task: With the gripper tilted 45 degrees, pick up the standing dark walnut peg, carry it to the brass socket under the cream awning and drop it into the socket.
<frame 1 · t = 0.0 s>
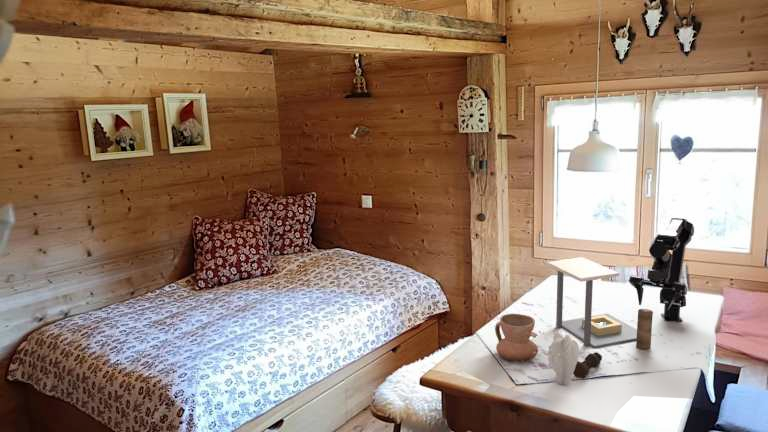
hand: (653, 307, 208), 15 cm above the table, tool tilted 35°, fingers open, 9 cm apart
walnut peg: (643, 347, 210), on the table
ceramic jug: (515, 356, 208), on the table
bolt: (588, 370, 196), on the table
shell sculpture: (562, 382, 188), on the table
socket stand: (601, 330, 226), on the table
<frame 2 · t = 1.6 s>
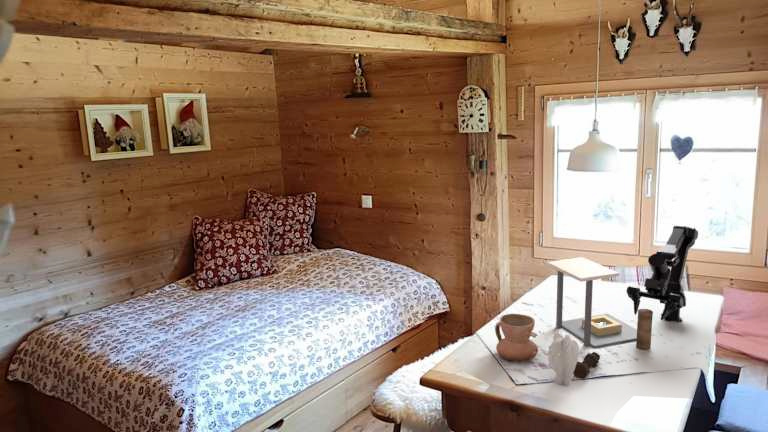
hand: (648, 316, 211), 11 cm above the table, tool tilted 45°, fingers open, 9 cm apart
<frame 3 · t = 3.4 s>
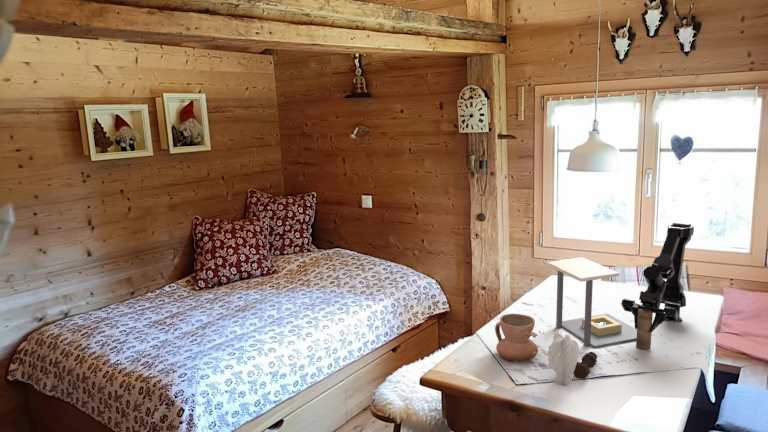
hand: (643, 330, 208), 7 cm above the table, tool tilted 45°, fingers closed on walnut peg, 5 cm apart
walnut peg: (643, 347, 210), on the table, touching gripper
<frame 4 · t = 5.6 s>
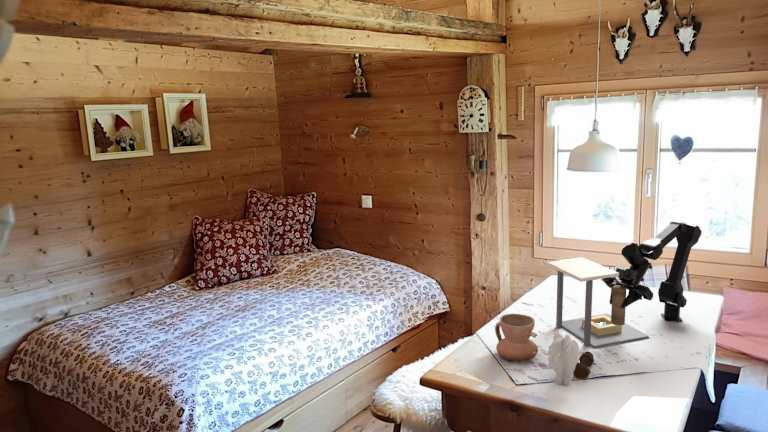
hand: (616, 305, 215), 13 cm above the table, tool tilted 45°, fingers closed on walnut peg, 5 cm apart
walnut peg: (617, 322, 217), point 6 cm above the table, touching gripper
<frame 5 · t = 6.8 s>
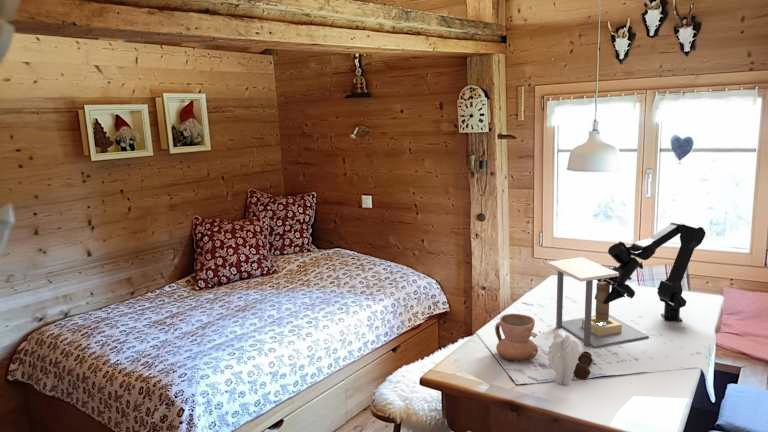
hand: (599, 301, 223), 12 cm above the table, tool tilted 45°, fingers closed on walnut peg, 5 cm apart
walnut peg: (602, 318, 225), point 5 cm above the table, touching gripper
when the fingers open (8 cm above the table, at t = 7.9 s): walnut peg stays where it is, resting on socket stand.
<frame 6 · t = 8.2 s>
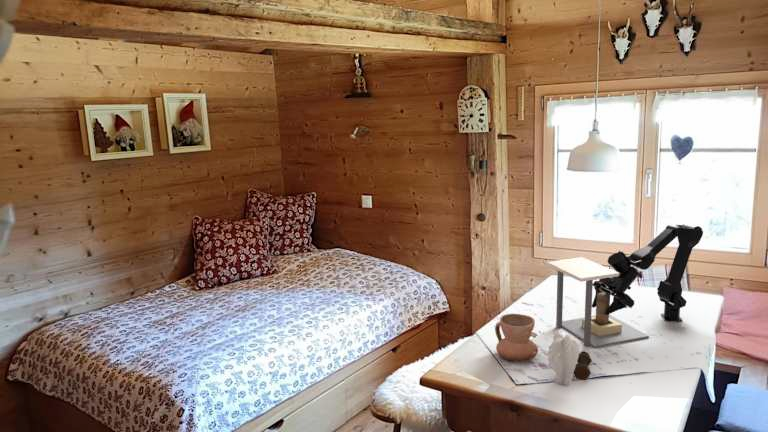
hand: (599, 310, 224), 9 cm above the table, tool tilted 45°, fingers open, 8 cm apart
walnut peg: (601, 328, 226), point 1 cm above the table, touching socket stand
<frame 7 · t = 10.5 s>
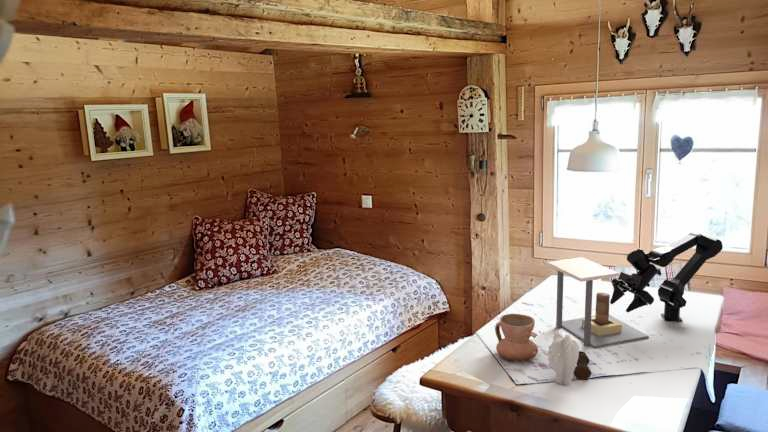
hand: (618, 307, 226), 8 cm above the table, tool tilted 45°, fingers open, 9 cm apart
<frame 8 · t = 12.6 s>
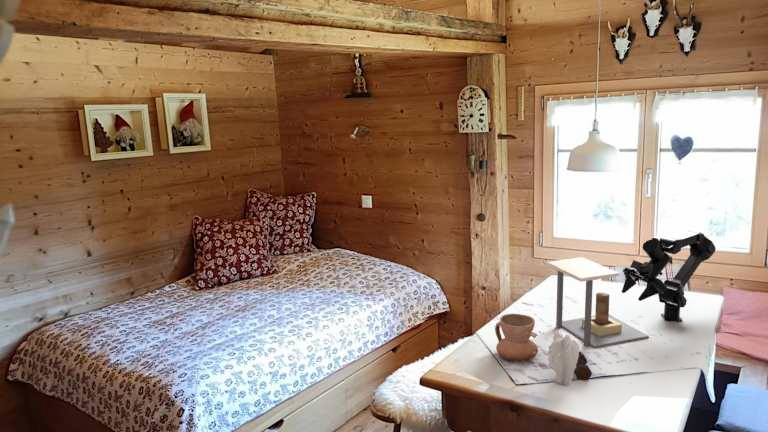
hand: (630, 296, 223), 14 cm above the table, tool tilted 45°, fingers open, 9 cm apart
at the end: walnut peg 0.1 cm off-centre on the socket stand, point 0.8 cm above the socket stand's base; walnut peg tilted 0°; the gripper is holding nothing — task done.
